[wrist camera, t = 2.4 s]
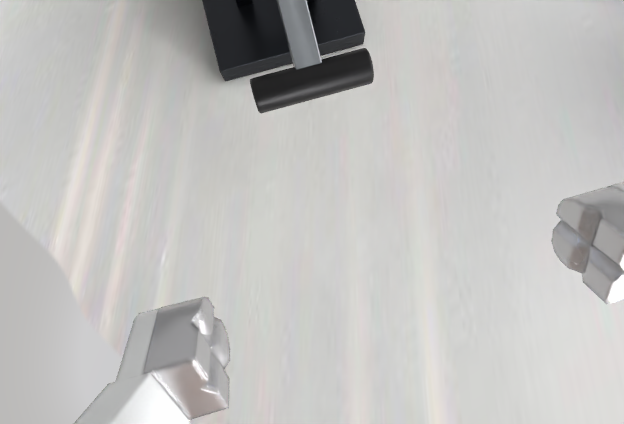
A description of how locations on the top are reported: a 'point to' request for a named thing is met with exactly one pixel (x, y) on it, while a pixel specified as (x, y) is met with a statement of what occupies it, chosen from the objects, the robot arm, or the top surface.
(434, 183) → the top surface
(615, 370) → the top surface
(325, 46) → the bracket
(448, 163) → the top surface
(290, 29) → the lever
